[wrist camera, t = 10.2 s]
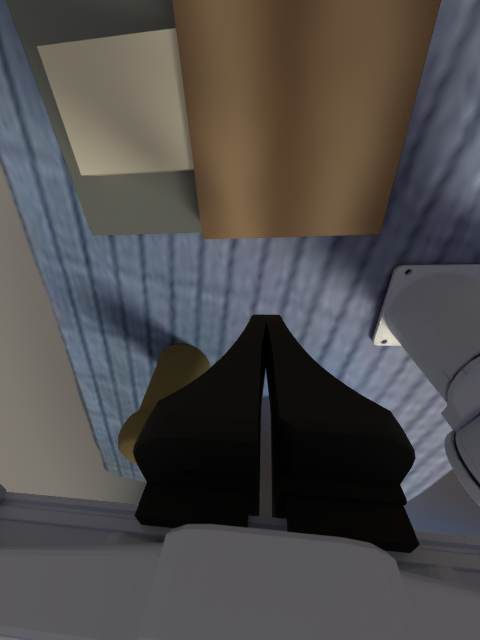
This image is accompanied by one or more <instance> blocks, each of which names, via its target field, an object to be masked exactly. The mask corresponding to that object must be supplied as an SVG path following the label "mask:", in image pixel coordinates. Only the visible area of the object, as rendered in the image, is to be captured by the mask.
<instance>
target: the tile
mask: <svg viewBox="0 0 480 640" xmlns="http://www.w3.org/2000/svg"><path fill="white" fill-rule="evenodd" d="M37 48H38V51H39V54H40V57H41V60H42V63H43V66H44V68H45V71H46V74H47V77H48V80H49V83H50V86H51V89H52V92H53V95H54V98H55V100H56V103H57V106H58V109H59V112H60V115H61V118H62V121H63V124H64V127H65V130H66V132H67V135H68V138H69V141H70V144H71V147H72V150H73V153H74V156H75V159H76V161H77V164H78V167H79V170H80V173H81V175H90V176H102V175H119V174H137V173H155V172H172V171H190V170H194V166H193V158H192V150H191V142H190V135H189V127H188V119H187V111H186V103H185V95H184V88H183V80H182V72H181V64H180V56H179V49H178V41H177V33H176V28H172V29H165V30H157V31H149V32H142V33H134V34H127V35H119V36H111V37H104V38H96V39H88V40H81V41H73V42H66V43H58V44H50V45H43V46H37Z"/></svg>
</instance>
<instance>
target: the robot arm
mask: <svg viewBox="0 0 480 640" xmlns="http://www.w3.org/2000/svg"><path fill="white" fill-rule="evenodd" d="M408 269H410V271H409V272H408V273H406V274H405V272H406V271H407V270H408ZM382 340H385V341H382ZM372 342H373V344H374V345H382V346H402V347H403V348H404V349H405V351H406V352H407V353H408V354H409V356H410V357H411V358H412V359H413V361H414V362H415V363H416V364H417V366H418V367H419V368H420V370H421V371H422V372H423V373H424V375H425V376H426V377H427V378H428V380H429V381H430V382H431V384H432V385H433V386H434V387H435V389H436V390H437V391H438V392H439V394H440V395H441V396H442V397H443V399H444V400H445V401H446V403H447V407H446V408H445V410H444V411H443V412H442V413H441V414H442V415H443V417H444V418H445V420H446V421H447V422H448V424H449V425H450V426H451V428H452V429H453V431H451V432H450V433H449V434H448V435H447V436H446V439H445V451H446V455H447V457H448V460H449V462H450V464H451V466H452V468H453V470H454V472H455V474H456V476H457V477H458V479H459V481H460V482H461V484H462V485H463V487H464V488H465V489H466V491H467V492H468V493H469V495H470V496H471V497H472V498H473V499H474V501H475V502H476V503H477V504H478V505H479V506H480V264H444V265H399V266H397V267H396V268H395V269H394V271H393V274H392V277H391V281H390V284H389V287H388V290H387V293H386V296H385V300H384V303H383V306H382V309H381V312H380V315H379V319H378V322H377V325H376V328H375V331H374V334H373V338H372ZM265 368H266V373H267V382H268V391H269V400H270V411H271V454H272V455H271V460H272V517H263V516H259V503H260V432H261V431H260V430H261V404H262V395H263V386H264V377H265ZM133 455H134V458H135V461H136V463H137V465H138V466H139V468H140V470H141V472H142V474H143V476H144V477H145V479H146V481H147V484H146V487H145V489H144V492H143V494H142V497H141V500H140V502H139V504H128V503H117V502H107V501H97V500H86V499H76V498H65V497H56V496H45V495H35V494H23V493H13V492H6V489H5V488H4V487H3V486H2V485H0V637H1V638H6V639H12V640H480V537H470V536H460V535H450V534H440V533H429V532H419V531H414V530H413V527H412V525H411V522H410V520H409V518H408V515H407V513H406V511H405V508H404V506H403V505H406V503H407V501H406V497H405V495H404V493H403V490H402V488H401V486H400V484H401V482H402V481H403V479H404V478H405V476H406V475H407V473H408V472H409V471H410V469H411V467H412V466H413V463H414V461H415V452H414V449H413V447H412V445H411V443H410V441H409V440H408V438H407V436H406V434H405V432H404V431H403V429H402V427H401V426H400V424H399V423H398V422H397V420H396V419H395V417H394V416H393V414H392V412H391V411H389V410H387V409H385V408H384V407H382V406H380V405H378V404H376V403H375V402H373V401H371V400H369V399H367V398H366V397H364V396H362V395H360V394H359V393H357V392H356V391H354V390H353V389H351V388H350V387H348V386H346V385H345V384H344V383H342V382H341V381H339V380H338V379H336V378H335V377H334V376H333V375H331V374H330V373H329V372H327V371H326V370H325V369H324V368H322V367H321V366H320V365H319V364H318V363H317V362H316V361H315V360H314V359H313V358H312V357H311V356H310V355H309V354H308V353H307V352H306V351H305V350H304V349H303V348H302V347H301V345H300V344H299V343H298V342H297V340H296V339H295V338H294V336H293V335H292V334H291V332H290V331H289V330H288V328H287V326H286V325H285V323H284V321H283V320H282V318H281V316H280V315H253V316H251V319H250V321H249V323H248V324H247V326H246V328H245V329H244V331H243V332H242V334H241V335H240V337H239V338H238V339H237V341H236V342H235V343H234V344H233V346H232V347H231V348H230V349H229V350H228V351H227V353H226V354H225V355H224V356H223V357H222V358H221V359H220V360H219V361H218V362H216V363H215V364H214V365H213V366H212V367H211V368H210V369H208V370H207V371H206V372H205V373H203V374H202V375H201V376H199V377H198V378H197V379H195V380H194V381H192V382H191V383H189V384H188V385H186V386H184V387H183V388H181V389H179V390H178V391H176V392H174V393H172V394H170V395H169V396H167V397H165V398H163V399H161V400H159V401H158V402H157V404H156V405H155V407H154V409H153V410H152V412H151V413H150V415H149V417H148V418H147V420H146V422H145V424H144V426H143V428H142V430H141V432H140V434H139V436H138V438H137V440H136V443H135V445H134V448H133Z"/></svg>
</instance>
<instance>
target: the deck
mask: <svg viewBox="0 0 480 640" xmlns="http://www.w3.org/2000/svg"><path fill="white" fill-rule="evenodd" d="M172 2H173V9H174V17H175V25H176V33H177V41H178V49H179V56H180V64H181V72H182V80H183V88H184V95H185V103H186V111H187V119H188V127H189V135H190V142H191V150H192V158H193V166H194V174H195V181H196V189H197V197H198V205H199V213H200V221H201V228H202V236H203V239H228V238H267V237H306V236H345V235H380V233H381V229H382V225H383V221H384V218H385V214H386V210H387V206H388V202H389V198H390V194H391V191H392V187H393V183H394V179H395V175H396V171H397V168H398V164H399V160H400V156H401V152H402V148H403V145H404V141H405V137H406V133H407V129H408V125H409V122H410V118H411V114H412V110H413V106H414V102H415V99H416V95H417V91H418V87H419V83H420V79H421V76H422V72H423V68H424V64H425V60H426V56H427V53H428V49H429V45H430V41H431V37H432V33H433V30H434V26H435V22H436V18H437V14H438V10H439V7H440V3H441V0H172Z"/></svg>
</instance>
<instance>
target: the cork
mask: <svg viewBox="0 0 480 640" xmlns="http://www.w3.org/2000/svg"><path fill="white" fill-rule="evenodd" d="M208 369H210V366H209V361H208V359H207V358H206V356H205V355H204V354H203V353H202V352H201V351H200V350H198V349H196V348H195V347H193V346H189V345H186V344H174V345H170V346H168V347H167V348H165V349H164V350H163V352H162V353H161V356H160V358H159V361H158V363H157V366H156V368H155V371H154V373H153V376H152V378H151V381H150V384H149V386H148V389H147V391H146V394H145V396H144V399H143V401H142V404H141V406H140V409H139V411H137V412H135V413H133V414H132V415H131V416H130V417H129V418H128V419H127V421H126V422H125V423H124V425H123V427H122V428H121V430H120V433H119V436H118V448H119V450H120V452H121V453H122V455H123V456H124V457H125V458H126V459H128V460H129V461H131V462H133V463H135V464H137V463H136V461H135V458H134V455H133V448H134V445H135V443H136V440H137V438H138V436H139V434H140V432H141V430H142V428H143V426H144V424H145V422H146V420H147V418H148V417H149V415H150V413H151V412H152V410H153V409H154V407H155V405H156V404H157V402H158V401H159V400H161V399H163V398H165V397H167V396H169V395H170V394H172V393H174V392H176V391H178V390H179V389H181V388H183V387H184V386H186V385H188V384H189V383H191V382H192V381H194V380H195V379H197V378H198V377H199V376H201V375H202V374H203V373H205V372H206V371H207V370H208Z"/></svg>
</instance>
